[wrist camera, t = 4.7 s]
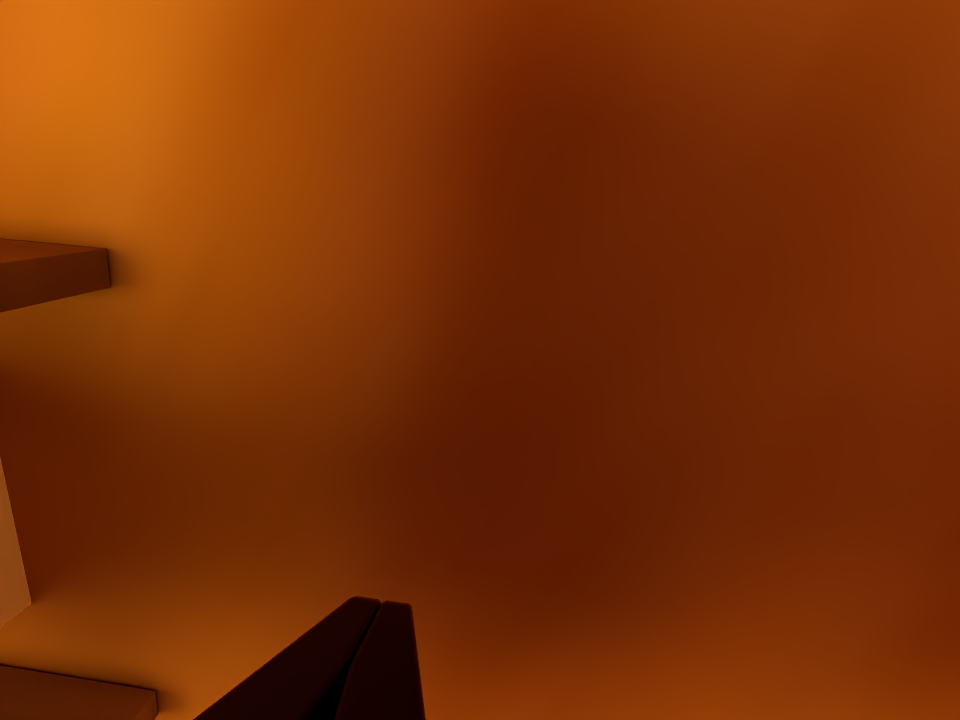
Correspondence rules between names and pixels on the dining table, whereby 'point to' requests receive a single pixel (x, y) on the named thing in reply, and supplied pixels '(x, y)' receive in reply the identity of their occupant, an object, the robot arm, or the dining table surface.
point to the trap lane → (24, 693)
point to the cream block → (10, 562)
